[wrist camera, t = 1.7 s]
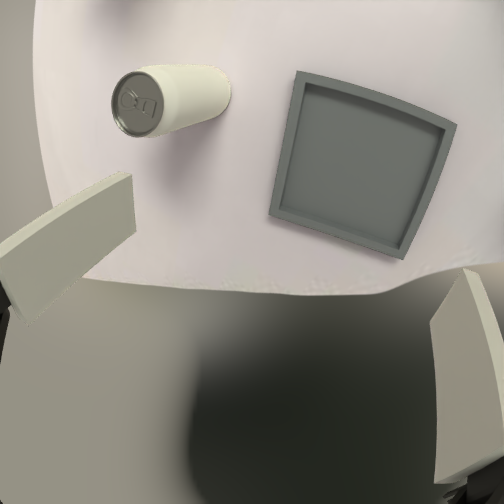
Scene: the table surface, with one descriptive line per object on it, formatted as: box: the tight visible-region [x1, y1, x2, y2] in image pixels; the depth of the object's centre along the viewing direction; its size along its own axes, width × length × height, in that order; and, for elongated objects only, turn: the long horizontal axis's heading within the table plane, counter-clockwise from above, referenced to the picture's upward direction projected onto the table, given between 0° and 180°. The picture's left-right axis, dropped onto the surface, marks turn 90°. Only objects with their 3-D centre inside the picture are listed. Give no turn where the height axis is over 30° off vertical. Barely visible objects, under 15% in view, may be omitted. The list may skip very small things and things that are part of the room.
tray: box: [268, 71, 457, 260], centre depth 27 cm, size 16×16×2 cm
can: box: [111, 65, 231, 138], centre depth 25 cm, size 6×6×12 cm
